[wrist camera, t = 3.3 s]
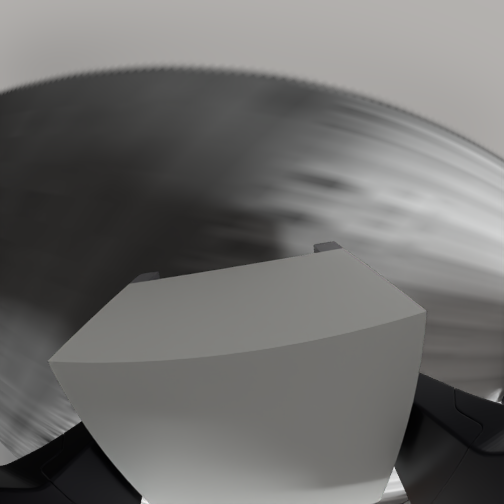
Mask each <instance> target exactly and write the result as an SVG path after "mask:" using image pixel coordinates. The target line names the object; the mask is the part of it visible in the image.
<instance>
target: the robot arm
mask: <svg viewBox="0 0 504 504" xmlns="http://www.w3.org/2000/svg"><path fill="white" fill-rule="evenodd" d="M501 403H502V404H500V403H497V402H493V401H490V400H486V399H483V398H480V397H477V396H474V395H472V394H469V393H466V392H464V391H461V390H459V389H457V388H455V389H454V387H452V386H449V385H447V384H445V383H442V382H440V381H438V380H435V379H433V378H431V377H428V376H426V375H424V374H422V373H419V375H418V380H417V385H416V390H415V395H414V399H413V404H412V408H411V412H410V416H409V420H408V423H407V427H406V430H405V434H404V437H403V441H402V444H401V447H400V450H399V453H398V456H397V459H396V462H395V465H394V467H395V469H396V471H397V474H398V476H399V478H400V480H401V483H402V485H403V487H404V489H405V492H406V494H407V496H408V498H409V501H410V503H411V504H504V397H503V399H502V402H501ZM141 499H142V495H141V494H140V493H139V492H138V491H137V490H136V489H135V488H134V487H133V486H132V485H131V483H130V482H129V481H128V480H127V479H126V478H125V477H124V476H123V474H122V473H121V472H120V471H119V470H118V469H117V467H116V466H115V465H114V464H113V463H112V461H111V460H110V459H109V458H108V456H107V455H106V454H105V453H104V451H103V450H102V449H101V447H100V446H99V445H98V443H97V442H96V441H95V439H94V438H93V436H92V435H91V434H90V432H89V431H88V429H87V428H86V426H85V425H84V423H83V422H82V421H81V422H80V423H79V424H77V425H76V426H74V427H73V428H71V429H70V430H68V431H67V432H65V433H64V434H62V435H60V436H59V437H57V438H56V439H54V440H53V441H51V442H49V443H48V444H46V445H44V446H43V447H41V448H39V449H37V450H35V451H33V452H31V453H30V454H28V455H26V456H24V457H22V458H20V459H17V460H15V461H14V462H11V463H9V464H7V465H3V466H0V504H141Z"/></svg>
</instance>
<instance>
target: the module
mask: <svg viewBox="0 0 504 504" xmlns="http://www.w3.org/2000/svg"><path fill="white" fill-rule="evenodd" d="M426 318H427V311H426V310H425V309H424V308H423V307H421V306H420V305H419V304H418V303H416V302H415V301H414V300H412V299H411V298H410V297H409V296H407V295H406V294H405V293H403V292H402V291H401V290H400V289H398V288H397V287H396V286H394V285H393V284H392V283H390V282H389V281H388V280H386V279H385V278H384V277H382V276H381V275H380V274H378V273H377V272H376V271H374V270H373V269H372V268H370V267H369V266H368V265H366V264H365V263H363V262H362V261H361V260H359V259H358V258H357V257H355V256H354V255H352V254H351V253H350V252H348V251H347V250H345V249H344V248H343V247H341V246H340V245H338V244H337V243H336V242H334V241H333V242H327V243H322V244H316V245H314V253H313V254H307V255H301V256H295V257H290V258H284V259H278V260H272V261H266V262H260V263H255V264H249V265H243V266H237V267H231V268H225V269H219V270H213V271H207V272H200V273H194V274H188V275H182V276H176V277H169V278H163V279H160V276H159V272H158V271H157V272H151V273H145V274H140V275H139V276H138V277H136V278H135V279H134V280H133V281H132V282H131V283H130V284H128V285H127V286H126V287H125V288H124V289H123V290H122V291H121V292H120V293H118V294H117V295H116V296H115V297H114V298H113V299H112V300H111V301H110V302H108V303H107V304H106V305H105V306H104V307H103V308H102V309H101V310H100V311H99V312H98V313H97V314H96V315H94V316H93V317H92V318H91V319H90V320H89V321H88V322H87V323H86V324H85V325H84V326H83V327H82V328H81V329H80V330H79V331H78V332H77V333H76V334H75V335H73V336H72V337H71V338H70V339H69V340H68V341H67V342H66V343H65V344H64V345H63V346H62V347H61V348H60V349H59V350H58V351H57V352H56V353H55V354H54V355H53V356H52V357H51V358H50V359H49V360H48V363H49V365H50V367H51V369H52V371H53V373H54V375H55V377H56V379H57V380H58V382H59V384H60V386H61V388H62V390H63V391H64V393H65V395H66V396H67V398H68V400H69V401H70V403H71V405H72V406H73V408H74V410H75V411H76V413H77V414H78V416H79V417H80V419H81V420H82V422H83V423H84V425H85V426H86V428H87V429H88V431H89V432H90V434H91V435H92V436H93V438H94V439H95V441H96V442H97V443H98V445H99V446H100V447H101V449H102V450H103V451H104V453H105V454H106V455H107V456H108V458H109V459H110V460H111V461H112V463H113V464H114V465H115V466H116V467H117V469H118V470H119V471H120V472H121V473H122V474H123V476H124V477H125V478H126V479H127V480H128V481H129V482H130V483H131V485H132V486H133V487H134V488H135V489H136V490H137V491H138V492H139V493H140V494H141V495H142V496H143V497H144V498H145V499H146V500H147V501H148V502H149V503H150V504H374V503H377V502H380V500H381V498H382V495H383V493H384V491H385V488H386V486H387V483H388V481H389V478H390V476H391V473H392V470H393V468H394V465H395V462H396V459H397V456H398V453H399V450H400V447H401V444H402V441H403V437H404V434H405V430H406V427H407V423H408V420H409V416H410V412H411V408H412V404H413V399H414V395H415V390H416V385H417V380H418V375H419V370H420V364H421V358H422V351H423V344H424V336H425V327H426Z"/></svg>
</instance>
